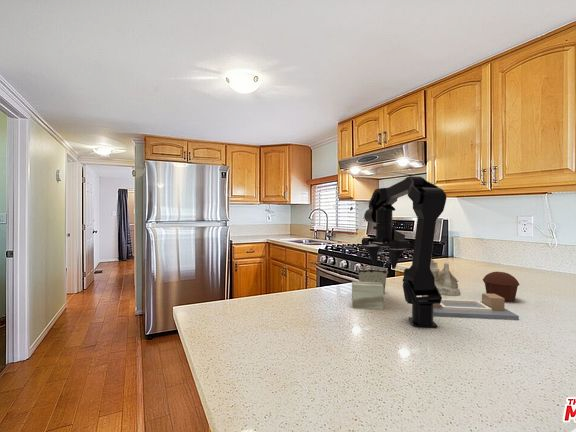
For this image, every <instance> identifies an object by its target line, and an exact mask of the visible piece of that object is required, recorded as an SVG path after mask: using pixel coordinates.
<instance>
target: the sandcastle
mask: <svg viewBox="0 0 576 432" xmlns="http://www.w3.org/2000/svg"><path fill="white" fill-rule="evenodd" d="M434 260H435V259H432V257H431V265H430V269H431V271H432V273H433V275H434V277H435V286H436V287H437V289H438V291H439V293H440V295H441V296H447V297H460V296H461V291H460V288H459V284H458V282H459V280H458V279H457V278H456V277H455V276H454V275H453V273H451V271H450V264H449V263H448V262H444V263H443V268H442V269H441V270H440V268H438V262H437V261H436V262H435V261H434Z"/></svg>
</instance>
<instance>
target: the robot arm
mask: <svg viewBox="0 0 576 432" xmlns="http://www.w3.org/2000/svg"><path fill="white" fill-rule="evenodd" d="M406 195H407V197H408V198H409V199H410V200H411V201H412V210H413V211H414V213H415V216H416V220H417V221H416V227H415V234H414V235H415V237H414V243H413V244H414V245H413V252H412V254H413V255H412V263H411V266H410V267H409V268H405V269H404V270H403V278H402V290H403V295H404V300H405V302H406V303H407V304H410V305H411V317H408V321H409V322H410V323H411V325H412V326H413V327H420V328H421V327H422V328H439V327H438V324H437V323H436V322H435V320H434V316H433V304H436V303H438V304H440V303H441V300H442V299H443V297H442V295H440V293H439V291H438V289H437V287H436V286H435V277H434V275H433V273H432V271H431V269H430V265H431V258H432V257H433V256H432V255H433V248H434V239H435V232H436V224H437V220H438V219H439V217H440V216H441V214H442V213H443V212H444V211H445V207H446V202H447V193H445V191H444V189H442V188H441V187H439V186H437V185H436V184H434V183H431V182H430V181H428V180H426V179H425V178H424V177H422V176H416V175H415V176H413V175H412V176H411V175H410V176H407V177H405V178H404V179H403V180H401V181H399V182H397V183H395V184H392V185H391V186H389V187H380V188H376V189H374V190H373V192H372V195H371V198H370V199H369V202H368V209H367V210H366V211H365V212H364V215H363V216H364V217H363V218H364V220H365V221H366V222H367V223H369V224H375V226H373V227H372V228H373V230H375V237H363V238H362V239H361V246H363V248H365V250H366V252H367V254H368V256H369V258H370V260H371V262H372V264H373V266H378V255H379V250H380V248H381V246H387V247H389V248H388V249H387V250H388V255H389V261H390V265H391V269H393V270H395V269H396V267H397V265H398V262H399V259H400V257H401V255H402V254H403V253H404V252H405V251H406V252H407V250H409V249H411V248H410V245H411V243H410V242H409V240H406V239H405V238H406V234H404V233H402V232H400V231H397V230H396V225H395V226H394V225H393V211H396V207H395V206H393V205H394V204H395V203H396V202H397V201H398V199H399V198H402V197H403V196H406ZM424 295H428V296H427V297H422V296H424Z"/></svg>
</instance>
